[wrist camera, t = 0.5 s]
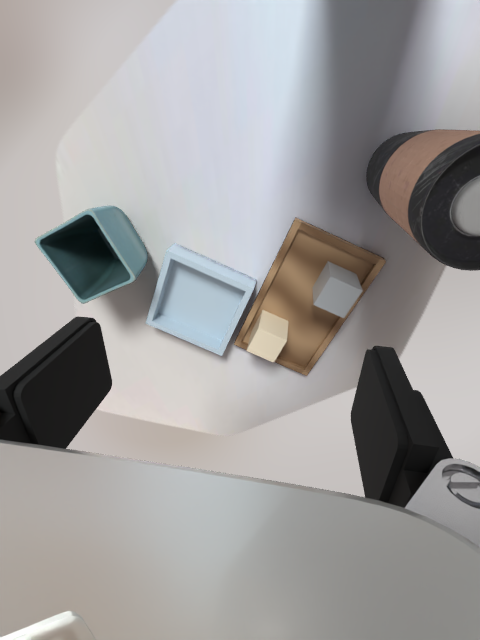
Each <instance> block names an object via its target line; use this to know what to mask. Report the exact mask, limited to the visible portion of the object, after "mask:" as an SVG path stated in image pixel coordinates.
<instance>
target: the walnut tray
mask: <svg viewBox="0 0 480 640" xmlns="http://www.w3.org/2000/svg"><path fill="white" fill-rule="evenodd" d="M328 261H329V262H331V263H333V264H336V265H338V266H340V267H342V268H344V269H346V270H349V271H351V272H353V273H355V274H357V277H358V279H359V282H360V285H361V287H362V290H363V291H362V293H361V294H360V296H359V297H358V299H357V300H356V301H355V303H354V304H353V306H352V307H351V309H350V310H349V312H348V313H347V314H346V316H345V317H344V318H342V317H340V316H337V315H335V314H333V313H331V312H328V311H326V310H324V309H322V308H320V307H317V306H315V305H313V289H312V287H313V286H314V284H315V282H316V280H317V279H318V277H319V275H320V274H321V272H322V270H323V269H324V267H325V265H326V263H327V262H328ZM385 263H386V261H385V259H384V258H382V257H380V256H378V255H376V254H374V253H371V252H369V251H367V250H365V249H363V248H361V247H358V246H356V245H354V244H352V243H350V242H348V241H345V240H343V239H341V238H339V237H337V236H335V235H333V234H330V233H328V232H326V231H324V230H322V229H320V228H317V227H315V226H313V225H311V224H309V223H307V222H304V221H302V220H300V219H298V218H296V217H295V219H294V221H293V223H292V226H291V228H290V230H289V232H288V234H287V236H286V238H285V240H284V242H283V244H282V246H281V248H280V250H279V252H278V254H277V256H276V258H275V260H274V262H273V264H272V266H271V268H270V270H269V272H268V274H267V277H266V279H265V281H264V283H263V285H262V287H261V289H260V291H259V293H258V295H257V297H256V299H255V301H254V303H253V305H252V307H251V309H250V311H249V313H248V315H247V317H246V319H245V321H244V323H243V325H242V328H241V330H240V332H239V334H238V336H237V338H236V340H235V343H234V345H236V346H239V347H241V348H243V349H246V350H247V347H248V343H249V339H250V335H251V331H252V329H253V327H254V325H255V323H256V321H257V319H258V318H259V316H260V314H261V312H262V310H265V311H267V312H269V313H271V314H274V315H276V316H278V317H280V318H283V319H285V320H287V321H288V335H287V342H286V343H285V345H284V347H283V348H282V350H281V352H280V353H279V355H278V357H277V358H276V360H275V362H276V363H278V364H280V365H283V366H285V367H287V368H290V369H292V370H294V371H297V372H299V373H301V374H304V375H306V376H307V375H308V373H309V372H310V370H311V369H312V367H313V366H314V365H315V363H316V362H317V360H318V359H319V357H320V356H321V355H322V353H323V352H324V350H325V349H326V347H327V346H328V344H329V343H330V342H331V340H332V339H333V337H334V336H335V334H336V333H337V332H338V330H339V329H340V327H341V326H342V324H343V323H344V321H345V320H346V319H347V317H348V316H349V314H350V313H351V311H352V310H353V309H354V307H355V306H356V304H357V303H358V301H359V300H360V298H361V297H362V296H363V294H364V293H365V291H366V290H367V288H368V287H369V286H370V284H371V283H372V281H373V280H374V278H375V277H376V276H377V274H378V273H379V271H380V270H381V268H382V267H383V265H384V264H385Z"/></svg>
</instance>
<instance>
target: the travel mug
mask: <svg viewBox="0 0 480 640" xmlns="http://www.w3.org/2000/svg"><path fill="white" fill-rule="evenodd" d="M367 185H368V188H369V190H370V192H371V194H372V195H373V196H374V198H375V199H376V200H377V202H378V203H379V204H380V205H381V207H382V208H383V209H384V210H385V212H386V213H387V214H388V215H389V216H390V217H391V218H392V219H393V220H394V221H395V222H396V223H397V224H398V225H399V226H400V227H401V228H403V229H404V230H405V231H406V232H407V233H408V234H409V235H410V236H411V237H412V238H413V239H414V240H415V241H416V242H417V243H419V244H420V245H421V246H422V247H423V248H424V249H425V250H426V251H427V252H428V253H429V254H430V255H431V256H433V257H434V258H435V259H437V260H438V261H439V262H441V263H443V264H445V265H447V266H450V267H453V268H457V269H461V270H480V131H469V130H440V129H439V130H428V131H418V132H408V133H403V134H399V135H396V136H394V137H392V138H390V139H388V140H387V141H385V142H384V143H383V144H382V145H381V146H380V147H379V148H378V149H377V150H376V151H375V153H374V154H373V156H372V157H371V160H370V162H369V165H368V168H367Z"/></svg>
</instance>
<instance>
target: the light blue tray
mask: <svg viewBox="0 0 480 640" xmlns="http://www.w3.org/2000/svg"><path fill="white" fill-rule="evenodd" d="M255 284H256V279H254V278H252V277H249V276H247V275H245V274H243V273H240V272H238V271H236V270H234V269H231V268H229V267H227V266H225V265H222V264H220V263H218V262H216V261H213V260H211V259H209V258H207V257H204V256H202V255H200V254H198V253H196V252H193V251H191V250H189V249H187V248H184V247H182V246H180V245H178V244H175V243H174V244H173V245H172V246H171V247H170V248H169V249H167V251H166V254H165V258H164V261H163V265H162V268H161V272H160V275H159V278H158V282H157V285H156V289H155V292H154V296H153V299H152V303H151V306H150V310H149V313H148V317H147V320H146V324H148V325H150V326H153V327H155V328H157V329H160V330H162V331H164V332H167V333H169V334H171V335H174V336H176V337H178V338H181V339H183V340H185V341H188V342H190V343H192V344H195V345H197V346H199V347H202V348H204V349H206V350H209V351H211V352H213V353H216V354H218V355H220V356H222V355H223V353H224V351H225V348H226V346H227V344H228V342H229V340H230V338H231V336H232V334H233V332H234V330H235V327H236V325H237V323H238V321H239V319H240V317H241V315H242V313H243V311H244V309H245V307H246V304H247V302H248V300H249V298H250V296H251V294H252V292H253V290H254V287H255Z"/></svg>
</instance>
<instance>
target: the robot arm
mask: <svg viewBox="0 0 480 640" xmlns="http://www.w3.org/2000/svg"><path fill="white" fill-rule="evenodd" d="M111 386H112V379H111V374H110V369H109V365H108V360H107V355H106V350H105V346H104V341H103V336H102V331H101V327H100V324H99V323H97V322H96V320H95V319H93V318H87V317H75V318H74V319H73V320H71V321H70V322H69V323H68V324H66V325H65V326H64V327H62V328H61V329H60V330H59V331H57V332H56V333H55V334H53V335H52V336H51V337H50V338H48V339H47V340H46V341H45V342H43V343H42V344H41V345H39V346H38V347H37V348H36V349H34V350H33V351H32V352H31V353H29V354H28V355H27V356H25V357H24V358H23V359H22V360H20V361H19V362H18V363H17V364H15V365H14V366H13V367H12V368H10V369H9V370H8V371H6V372H5V373H4V374H2V375H1V376H0V640H480V467H478V466H476V465H474V464H472V463H470V462H467V461H464V460H461V459H453V457H452V455H451V453H450V451H449V449H448V447H447V445H446V443H445V441H444V438H443V436H442V434H441V432H440V430H439V428H438V426H437V424H436V422H435V420H434V418H433V416H432V414H431V412H430V410H429V408H428V406H427V404H426V402H425V400H424V398H423V396H422V394H421V393H420V392H419V391H417V390H413V389H412V387H411V385H410V382H409V380H408V378H407V376H406V374H405V372H404V370H403V367H402V365H401V363H400V361H399V359H398V356H397V354H396V352H395V350H394V348H392V347H382V346H374V347H373V349H372V350H367V351H366V354H365V358H364V362H363V366H362V370H361V374H360V378H359V382H358V386H357V390H356V394H355V398H354V403H353V406H352V411H351V423H352V429H353V434H354V439H355V445H356V450H357V455H358V461H359V466H360V471H361V476H362V482H363V487H364V492H365V498H364V497H360V496H355V495H351V494H346V493H340V492H335V491H329V490H323V489H317V488H312V487H306V486H301V485H295V484H289V483H283V482H277V481H271V480H264V479H258V478H251V477H245V476H239V475H233V474H226V473H221V472H214V471H207V470H202V469H195V468H189V467H182V466H176V465H169V464H162V463H157V462H149V461H143V460H137V459H130V458H124V457H117V456H111V455H104V454H97V453H90V452H84V451H77V450H70V449H66V448H67V446H68V445H69V444H70V442H71V441H72V440H73V438H74V437H75V435H77V433H78V432H79V431H80V429H81V428H82V427H83V425H84V424H85V423H86V421H87V420H88V419H89V417H90V416H91V415H92V413H93V412H94V411H95V410H96V408H97V407H98V406H99V404H100V403H101V402H102V400H103V399H104V398H105V396H106V395H107V394H108V392H109V391H110V389H111Z"/></svg>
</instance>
